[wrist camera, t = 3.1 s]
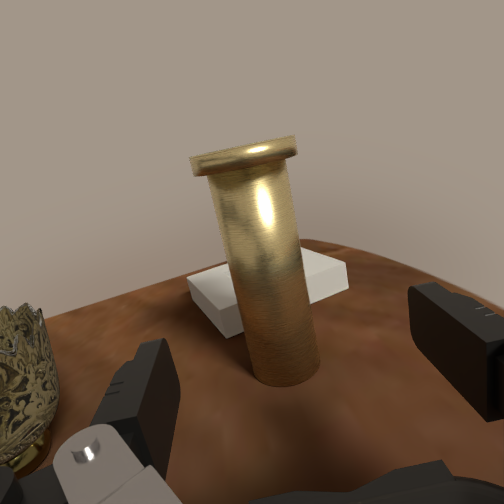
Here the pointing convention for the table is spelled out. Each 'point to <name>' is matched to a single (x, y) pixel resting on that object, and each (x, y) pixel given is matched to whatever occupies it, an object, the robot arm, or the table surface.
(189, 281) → the frame
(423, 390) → the table surface
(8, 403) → the cup
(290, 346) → the gold flanged cylinder
